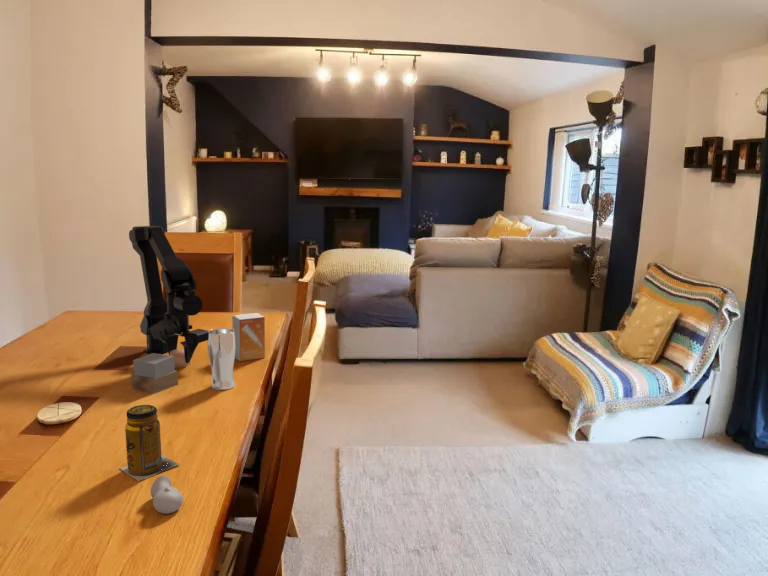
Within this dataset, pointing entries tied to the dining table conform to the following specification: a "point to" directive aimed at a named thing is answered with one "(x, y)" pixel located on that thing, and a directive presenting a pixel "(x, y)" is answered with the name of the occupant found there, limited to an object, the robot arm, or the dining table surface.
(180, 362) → the brown rounded cylinder
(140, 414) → the condiment
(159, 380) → the walnut base block
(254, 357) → the small box
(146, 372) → the grey top block
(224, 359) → the beer glass
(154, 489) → the pale two-lobed sculpture
